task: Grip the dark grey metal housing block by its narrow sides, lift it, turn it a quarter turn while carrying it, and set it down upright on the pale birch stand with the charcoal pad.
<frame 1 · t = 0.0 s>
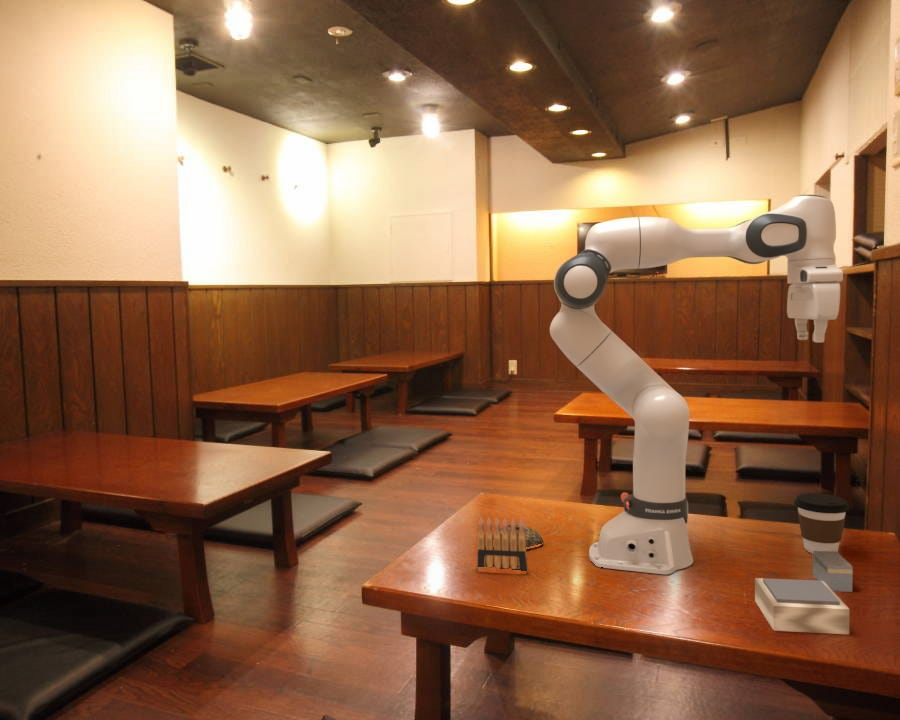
hand: (810, 341, 142), 48 cm above the table, tool pointing down, fingers open, 8 cm apart
coffee cup: (820, 552, 152), on the table
stand: (799, 616, 122), on the table
housing: (831, 583, 135), on the table
ammunition clip: (502, 573, 146), on the table
dark speckled curved piece: (513, 545, 164), on the table
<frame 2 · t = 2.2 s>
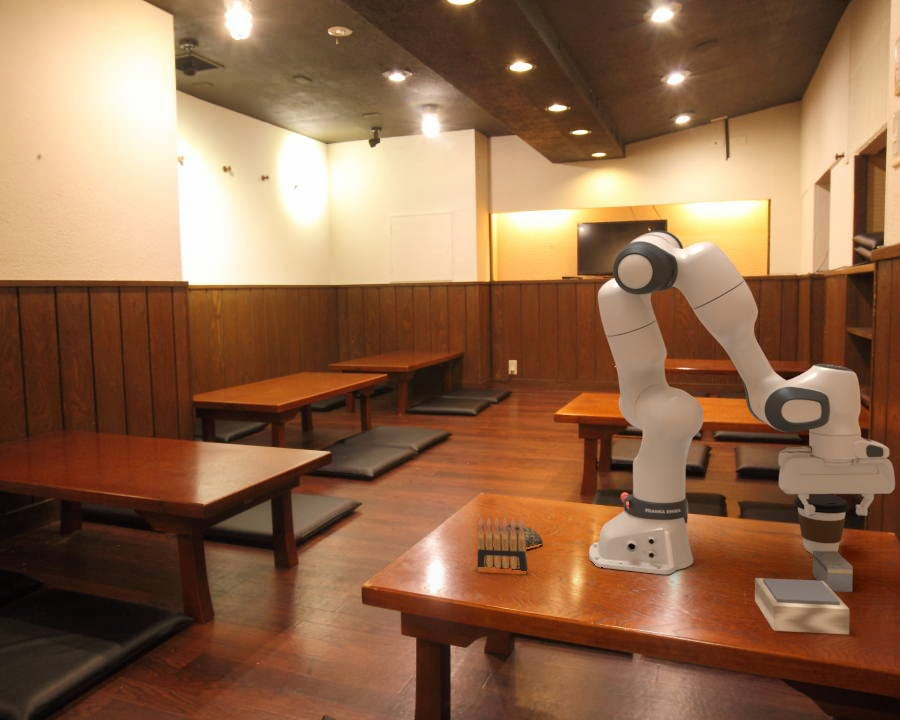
hand: (835, 514, 134), 14 cm above the table, tool pointing down, fingers open, 8 cm apart
nothing on the table moved.
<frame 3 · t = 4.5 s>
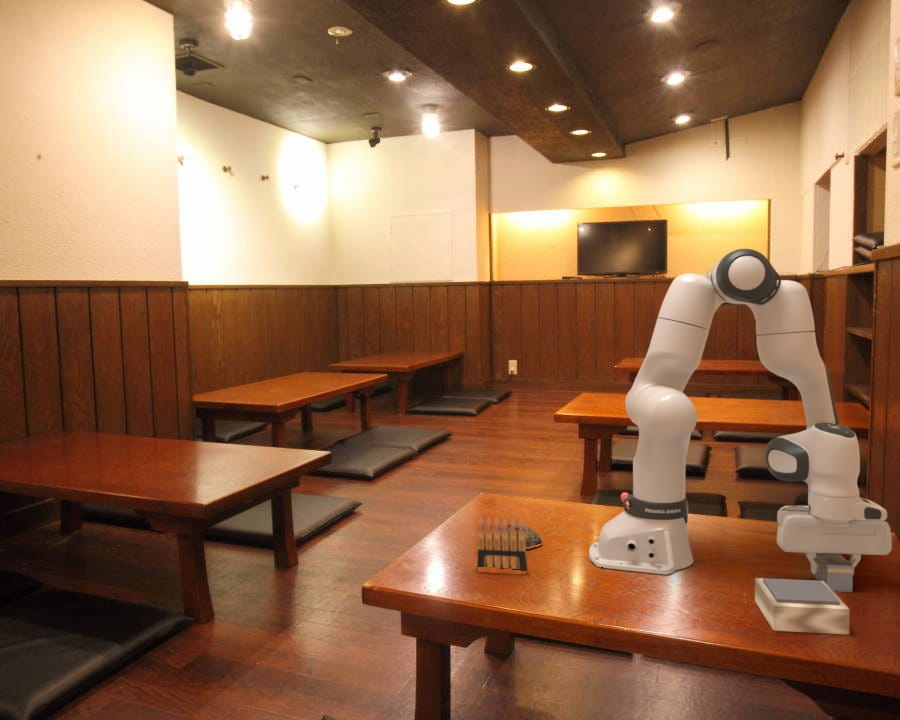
hand: (832, 573, 135), 2 cm above the table, tool pointing down, fingers closed on housing, 4 cm apart
housing: (832, 583, 135), on the table, touching gripper
everything else where it was.
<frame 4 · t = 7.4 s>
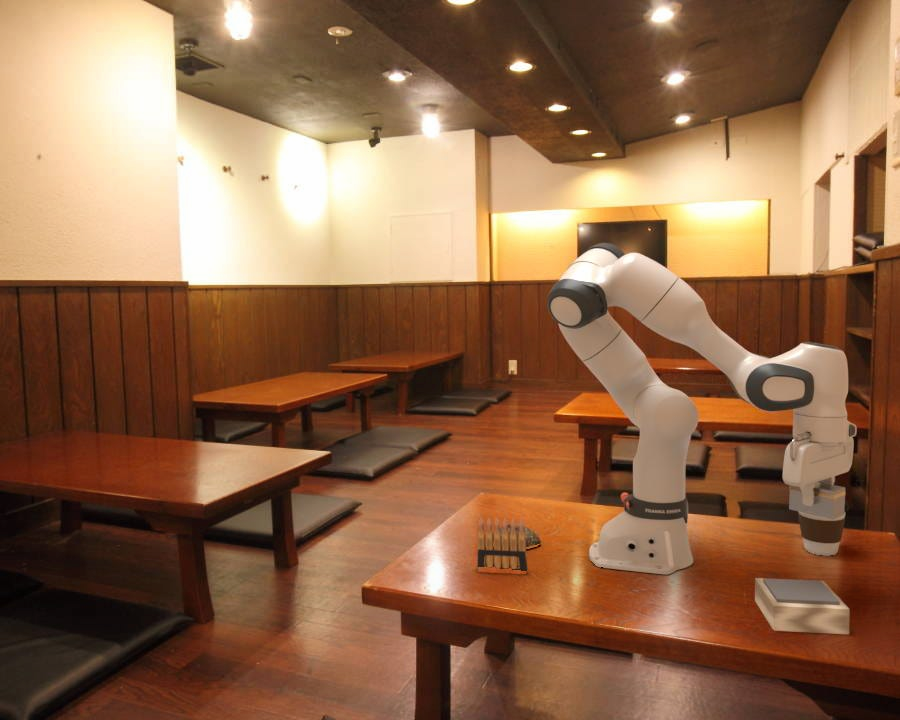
hand: (816, 502, 127), 19 cm above the table, tool pointing down, fingers closed on housing, 4 cm apart
housing: (816, 511, 127), point 17 cm above the table, touching gripper
everything else where it was.
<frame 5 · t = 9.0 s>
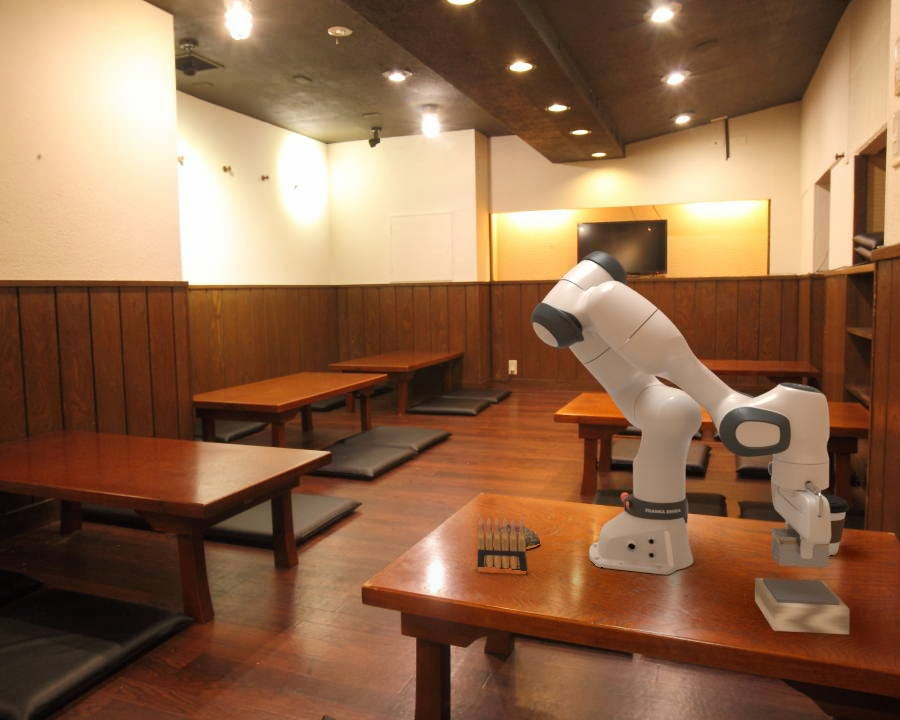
hand: (799, 551, 121), 12 cm above the table, tool pointing down, fingers closed on housing, 4 cm apart
housing: (799, 561, 121), point 10 cm above the table, touching gripper
everything else where it was.
when the fingers open (8 cm above the table, at t = 10.2 s): housing drops 1 cm, resting on stand.
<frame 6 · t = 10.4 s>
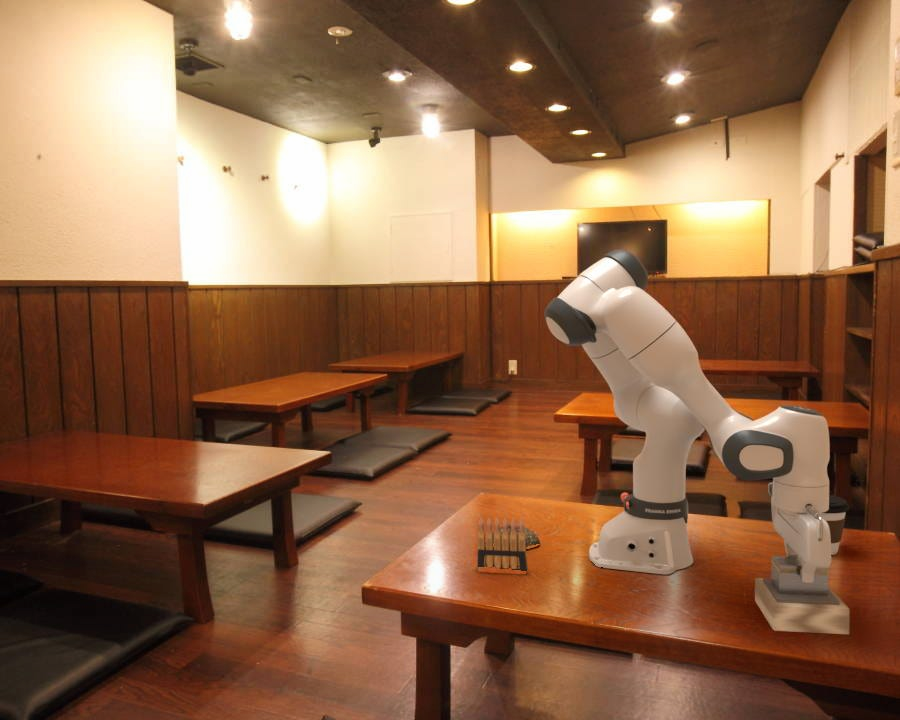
hand: (799, 572, 121), 8 cm above the table, tool pointing down, fingers open, 6 cm apart
housing: (799, 589, 121), point 5 cm above the table, touching stand
everything else where it was.
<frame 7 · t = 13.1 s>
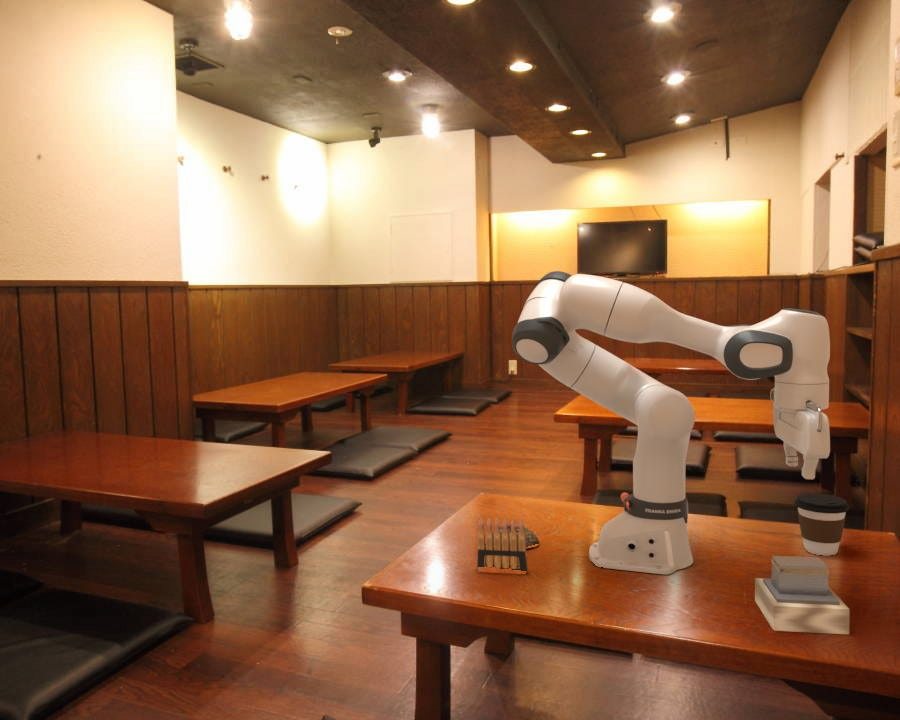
hand: (799, 471, 125), 25 cm above the table, tool pointing down, fingers open, 8 cm apart
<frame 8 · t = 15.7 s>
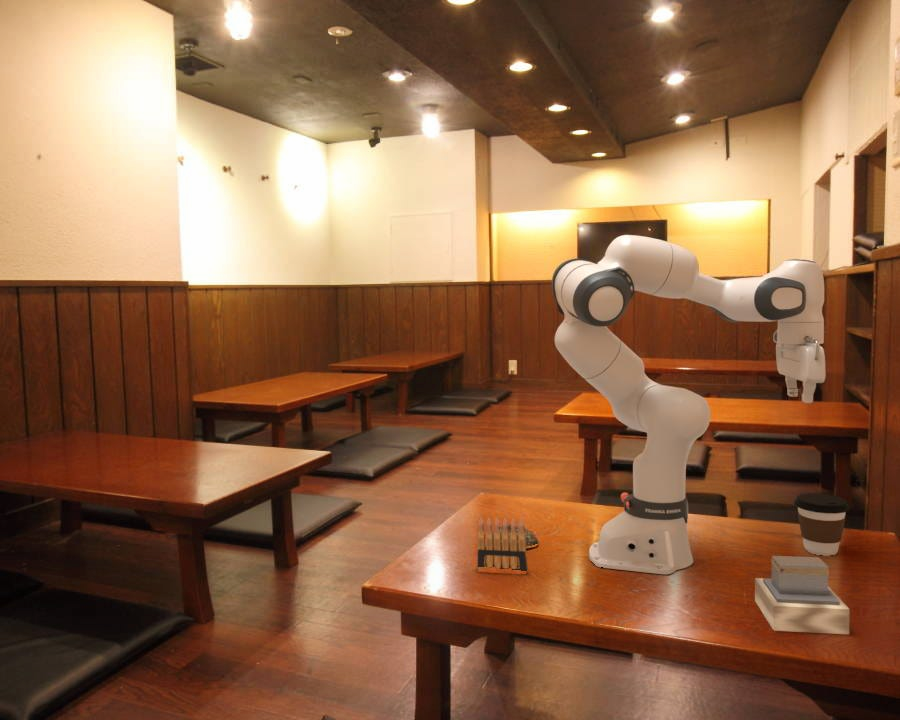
hand: (799, 399, 147), 35 cm above the table, tool pointing down, fingers open, 8 cm apart
at the end: housing inside the target area on the stand (0.1 cm from its centre), point 5.0 cm above the stand's base; housing tilted 0°; the gripper is holding nothing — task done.
